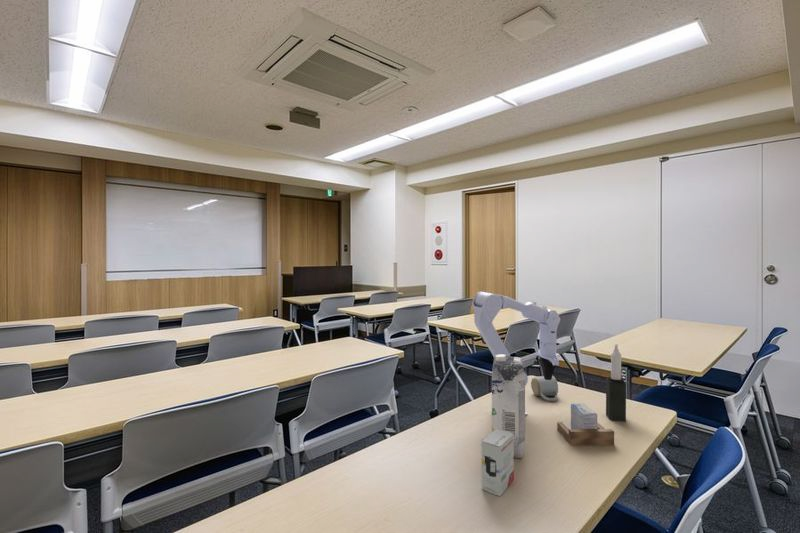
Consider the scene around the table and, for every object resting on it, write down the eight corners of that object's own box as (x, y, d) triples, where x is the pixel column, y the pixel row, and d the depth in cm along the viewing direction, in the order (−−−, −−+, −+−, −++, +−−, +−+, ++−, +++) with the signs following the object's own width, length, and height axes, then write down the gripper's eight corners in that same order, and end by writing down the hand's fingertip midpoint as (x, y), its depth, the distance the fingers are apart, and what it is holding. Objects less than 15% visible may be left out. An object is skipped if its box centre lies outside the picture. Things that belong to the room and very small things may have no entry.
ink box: (496, 472, 95) (496, 426, 95) (514, 479, 92) (514, 432, 92) (480, 489, 88) (480, 440, 88) (500, 497, 85) (499, 446, 85)
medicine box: (598, 442, 109) (598, 413, 109) (583, 442, 109) (583, 413, 109) (584, 430, 117) (584, 402, 117) (570, 430, 117) (570, 403, 117)
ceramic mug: (529, 392, 150) (529, 373, 149) (548, 391, 151) (549, 372, 150) (542, 403, 139) (543, 382, 139) (563, 401, 140) (563, 381, 140)
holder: (570, 445, 108) (571, 431, 108) (557, 429, 117) (557, 417, 117) (614, 445, 108) (614, 431, 108) (597, 429, 117) (597, 417, 117)
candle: (627, 421, 123) (627, 346, 122) (610, 420, 124) (610, 345, 123) (621, 415, 128) (621, 342, 127) (604, 413, 129) (605, 342, 128)
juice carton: (523, 442, 110) (523, 351, 109) (525, 461, 100) (525, 361, 99) (492, 438, 112) (492, 349, 111) (491, 457, 102) (491, 359, 101)
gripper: (567, 347, 128) (567, 386, 128) (550, 337, 142) (550, 372, 143) (547, 347, 128) (547, 386, 128) (532, 337, 142) (532, 373, 143)
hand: (547, 379), depth 136 cm, fingers closed
